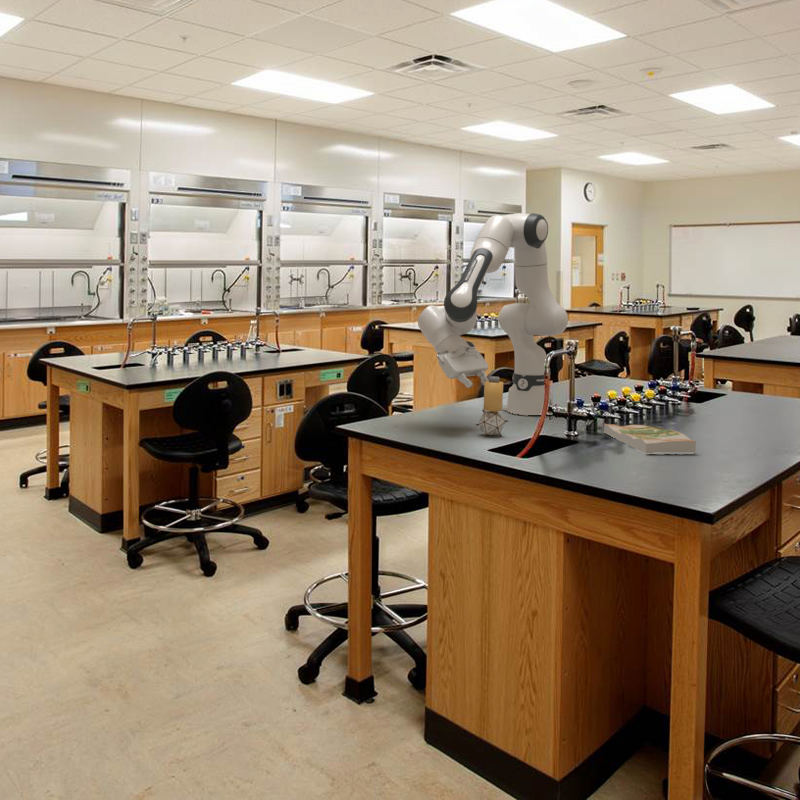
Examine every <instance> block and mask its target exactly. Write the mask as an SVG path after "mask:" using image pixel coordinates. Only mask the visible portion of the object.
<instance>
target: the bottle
mask: <svg viewBox="0 0 800 800" xmlns="http://www.w3.org/2000/svg"><path fill="white" fill-rule="evenodd" d="M500 379H501V378H500V376H495V375H494V376H488V380H489V381H485V384H484V385H483V387H484V388H483V407H482V408H483V410H484V411H485V412H489V411H493V412H497V411H498V412H502V411H503V399H504V396H503V395H504V381H500Z"/></svg>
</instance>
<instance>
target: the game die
mask: <svg viewBox="0 0 800 800" xmlns="http://www.w3.org/2000/svg"><path fill="white" fill-rule="evenodd" d="M482 412H483V413H482V415H481V417H480V419H479V422H478V423H476V424H475V426H477V427H479V428H480V429H481V430H482V431H483V433H484V434H485V438H486V437H488V435H489V436H491V435H499V437H502V434H501V433H502V430H503V428H504V425H505V424H506V423H507V422H509V420H507V419H506V420H505V419H504V417H503V416H502V415H501V414H500V413H499V411H497V412H493V411H485V410H483V409H482Z"/></svg>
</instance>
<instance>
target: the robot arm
mask: <svg viewBox="0 0 800 800" xmlns="http://www.w3.org/2000/svg"><path fill="white" fill-rule="evenodd" d="M548 233H549V225H548V222H547V219H546V218H545V217H544V215H542V214H540V213H539V214H538V213H526V212H517V213H509V214H495V215H492V216H490V217H489V218H488V219H487V220H486V222H485V223H484V225H483V226H482V228H481V229H480V231H479V233H478V234H477V235H476V239H475V241H474V243H473V245H472V248H471V252H470V256H469V261H468V263H467V265H466V267H465V269H464V271H463V273H462V274H461V276H460V279H459V281H458V282H457V283H456V284H455V285H454V287H452V288H451V289H450V290H449V291H448V292H447V293H446V294H445V297H444V299H443V300H444V301H443V305H435V304H434V305H431V304H430V305H428V306H425V308H424V309H423V310H422V311H421V312H420V314H419V315H418V318H417V324H418V328H419V330H420V331H421V333H422V334H423V336H424V337H425V339H426V341H428V342H429V344H431V345H432V347H433V348H434V351H435V353H436V358H437V360H438V361H437V362H438V364H439V367H440V369H441V370H442V371H443V373H444V375H445V377H447V378H448V379H450V380H453V379H457V380H458V381H459V382H460V383H462V384H463V385H464V386H465V387H466V388H467V389H470V388H472V387H473V386H474V382H472V380H471V379H469V378H467V377H473V376H477V377H478V378H479V379H480V383H481V384H482V385H483V386H484V384H485V381H489V378H488V377H487V374H486V371H487V370H488V369H489V364H488V362H487V361H486V360H485V358H484V357H483V355H482V354H481V353H480V351H479V350H478V349H477V348H476V344H475V343H474V342H472V341H470V340H469V341H468V340H466V339H464V338H463V337H461V336H463V335H465V334H467V333H469V332H471V331H472V330H473V329H474V328H475V326H476V325H477V316H478V314H477V313H478V312H477V308H478V291H479V289H480V287H481V284H482V282H483V280H484V278H485V276H486V274H491V273H495V272H497V271H499V269H500V267H501V266H502V264H503V262H504V261H505V259H506V256H507V255H508V252H509V250H510V248H515V250H514V277H515V281H514V282H515V287H516V289H517V291H519V292H520V293H522V294H523V295H525V297H527V299H528V301H529V302H528V303H526V302H524V303H523V302H521V303H520V302H516V303H508V304H505V305H504V306H502V308H501V309H500V311H499V314H498V324H499V327H500V328H501V330H502V331H504V332H505V333H506V335H507V336H508V337H509V339H510V341H511V344H512V348H513V351H514V353H513V354H514V372H513V373H512V377H511V378H512V383H513V384H512V386H510V387H509V388H508V394H507V401H506V402H507V403H506V406H504V407H503V408H502V411H505V410H506V412H508V413H509V412H510V414H512V413H513V414H514V415H518V414H519V415H520V416H528V415H540V413H541V410H542V406H543V402H544V363H545V359H546V360H547V353H546V351H545V349H544V348H543V347H542V346H540V345H538V344H537V342H536V341H535V336H543V337H544V336H545V337H551V336H557V335H561V334H562V333H563V332H565V330H566V329H567V326H568V323H569V316H568V313H567V311H566V309H565V308H564V307H563V306H561V305H560V304H559V303H558V302H557V300H556V299H555V297H554V296H553V294H552V292H551V289H550V285H549V276H548V254H547V248H546V243H545V241H546V239H547V237H548ZM549 406H554V394H553V392H552V390H550V396H549ZM513 414H512V415H513Z"/></svg>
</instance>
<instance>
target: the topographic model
mask: <svg viewBox="0 0 800 800" xmlns="http://www.w3.org/2000/svg"><path fill="white" fill-rule="evenodd" d="M604 433H606V434H608V435H610V436H611V437H613V438H616V439H617V440H619V441H621V442H624V443H626V444H628V445H630V446H632V447H634V448H636V449H638V450H640V451H642V452H645V453H653V452H695V453H696V446H697V441H696V440H693V439H691V438H689V437H688V436H687V435H685V434H684V433H683V432H679V431H677V430H673V429H665V428H662V427H658V426H651V425H645V424H644V425H643V424H629V425H628V424H627V425H618V424H614V423H613V424H612V423H611V424H610V423H604V424H603V434H604Z"/></svg>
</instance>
